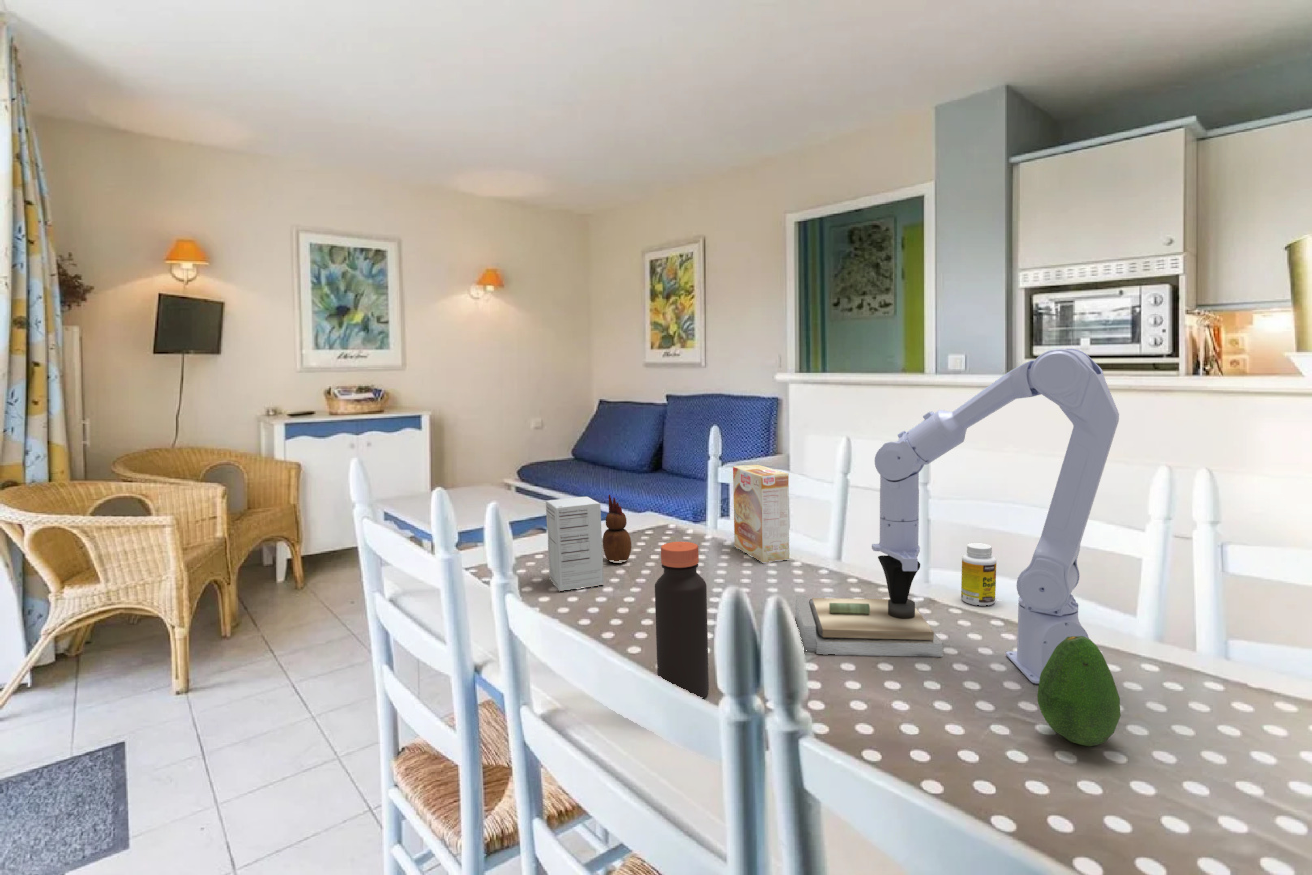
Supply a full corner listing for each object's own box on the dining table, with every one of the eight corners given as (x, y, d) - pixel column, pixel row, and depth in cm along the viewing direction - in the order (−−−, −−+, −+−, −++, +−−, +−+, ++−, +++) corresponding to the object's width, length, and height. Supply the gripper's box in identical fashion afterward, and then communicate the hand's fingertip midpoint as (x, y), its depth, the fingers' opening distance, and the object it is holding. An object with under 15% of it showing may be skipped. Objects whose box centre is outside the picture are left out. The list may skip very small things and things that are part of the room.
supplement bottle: (983, 609, 119) (985, 551, 118) (954, 600, 124) (955, 544, 123) (1002, 602, 123) (1003, 546, 121) (972, 594, 127) (973, 539, 126)
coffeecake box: (733, 547, 164) (731, 465, 162) (760, 544, 166) (759, 463, 164) (761, 564, 150) (760, 475, 148) (790, 560, 152) (789, 472, 150)
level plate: (933, 639, 102) (934, 618, 102) (818, 637, 104) (818, 616, 103) (909, 606, 116) (909, 588, 115) (808, 604, 118) (808, 586, 117)
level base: (942, 656, 101) (942, 630, 101) (804, 654, 103) (804, 628, 103) (914, 616, 117) (914, 593, 116) (794, 615, 119) (794, 592, 119)
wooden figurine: (600, 560, 157) (597, 494, 155) (623, 556, 159) (621, 492, 157) (610, 567, 150) (608, 499, 149) (635, 563, 153) (633, 496, 151)
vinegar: (666, 708, 88) (661, 555, 86) (652, 685, 95) (647, 542, 93) (716, 700, 90) (713, 550, 88) (699, 678, 96) (695, 537, 94)
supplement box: (605, 586, 138) (601, 503, 136) (559, 593, 134) (555, 507, 133) (591, 573, 147) (588, 495, 145) (548, 579, 143) (544, 499, 142)
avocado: (1088, 721, 82) (1092, 623, 81) (1135, 758, 75) (1140, 651, 73) (1021, 723, 82) (1024, 626, 81) (1061, 761, 74) (1065, 654, 73)
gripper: (863, 508, 115) (863, 587, 117) (882, 529, 101) (881, 619, 102) (907, 507, 114) (906, 587, 116) (932, 528, 100) (931, 619, 101)
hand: (898, 602), depth 109 cm, fingers closed, pressing on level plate
